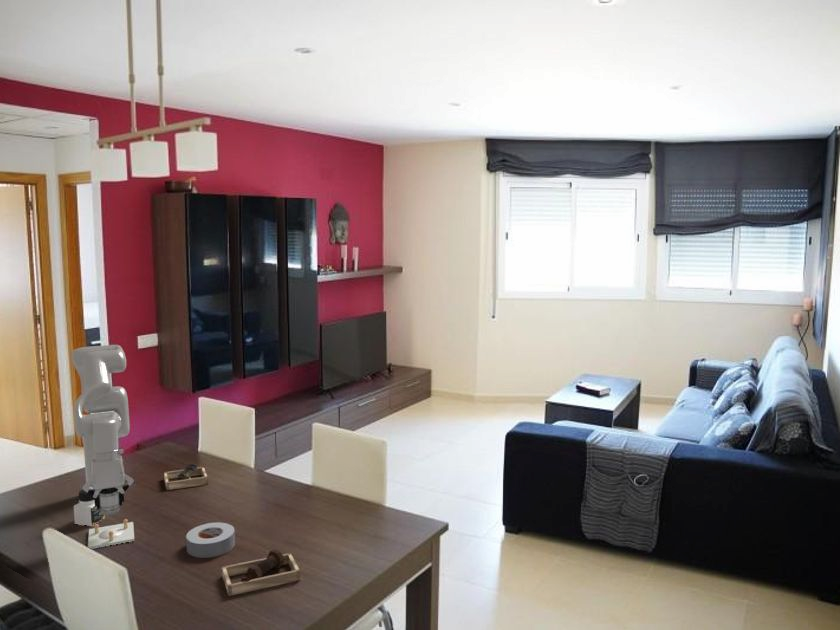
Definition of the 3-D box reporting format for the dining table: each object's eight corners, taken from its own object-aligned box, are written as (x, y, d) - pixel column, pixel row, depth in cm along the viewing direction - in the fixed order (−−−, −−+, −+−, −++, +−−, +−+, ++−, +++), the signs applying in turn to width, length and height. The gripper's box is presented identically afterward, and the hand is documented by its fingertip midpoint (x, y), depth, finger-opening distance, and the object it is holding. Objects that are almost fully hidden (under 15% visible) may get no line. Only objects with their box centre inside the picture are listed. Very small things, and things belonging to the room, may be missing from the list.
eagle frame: (164, 479, 276) (163, 472, 275) (204, 473, 282) (203, 466, 282) (166, 490, 264) (166, 483, 263) (208, 484, 271) (207, 477, 270)
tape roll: (190, 562, 208) (189, 547, 207) (183, 542, 221) (182, 527, 221) (239, 551, 215) (239, 537, 214) (229, 532, 228) (229, 518, 228)
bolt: (242, 592, 193) (276, 568, 206) (253, 588, 190) (286, 563, 203) (234, 574, 193) (268, 551, 206) (244, 569, 191) (278, 546, 204)
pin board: (89, 531, 228) (88, 520, 227) (133, 524, 234) (132, 513, 233) (88, 549, 215) (87, 537, 215) (134, 541, 221) (133, 529, 221)
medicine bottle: (92, 526, 232) (90, 494, 230) (74, 524, 233) (72, 492, 232) (105, 518, 239) (103, 486, 237) (88, 516, 240) (86, 484, 239)
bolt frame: (222, 576, 200) (221, 566, 199) (290, 561, 208) (290, 552, 208) (228, 596, 189) (228, 586, 188) (300, 580, 198) (300, 570, 197)
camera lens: (107, 517, 219) (105, 494, 218) (95, 512, 222) (94, 490, 221) (124, 510, 224) (122, 488, 223) (113, 506, 227) (111, 484, 226)
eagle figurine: (196, 481, 270) (201, 470, 279) (185, 469, 268) (190, 458, 276) (181, 491, 271) (186, 479, 279) (170, 478, 268) (175, 467, 277)
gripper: (134, 447, 228) (137, 497, 230) (78, 455, 220) (81, 506, 223) (135, 454, 221) (137, 505, 223) (77, 462, 214) (80, 514, 216)
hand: (109, 505), depth 223 cm, fingers closed on camera lens, 6 cm apart
